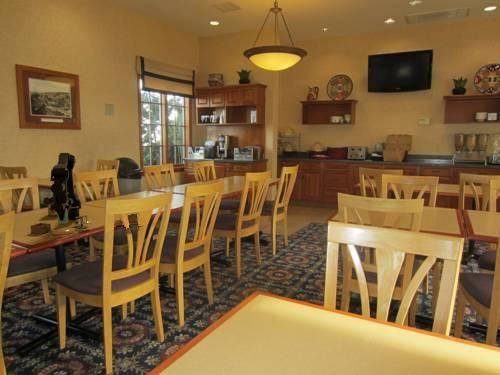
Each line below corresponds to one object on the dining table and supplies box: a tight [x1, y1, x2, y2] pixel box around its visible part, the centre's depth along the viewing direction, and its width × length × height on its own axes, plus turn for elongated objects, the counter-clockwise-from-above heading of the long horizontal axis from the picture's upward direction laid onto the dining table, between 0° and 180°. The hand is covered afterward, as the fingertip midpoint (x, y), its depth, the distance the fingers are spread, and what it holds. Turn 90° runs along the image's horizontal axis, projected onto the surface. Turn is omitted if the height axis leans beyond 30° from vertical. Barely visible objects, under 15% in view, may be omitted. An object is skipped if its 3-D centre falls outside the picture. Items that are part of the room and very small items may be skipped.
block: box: [56, 209, 69, 224], centre depth 199 cm, size 4×4×7 cm
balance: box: [71, 215, 92, 230], centre depth 209 cm, size 15×5×8 cm, turn 55°
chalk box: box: [47, 192, 57, 217], centre depth 241 cm, size 9×9×15 cm
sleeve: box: [30, 222, 52, 235], centre depth 200 cm, size 7×7×4 cm
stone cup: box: [114, 214, 139, 227], centre depth 215 cm, size 15×12×15 cm
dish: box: [51, 227, 76, 236], centre depth 200 cm, size 11×11×1 cm
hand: (63, 219), depth 199 cm, fingers closed on block, 4 cm apart
